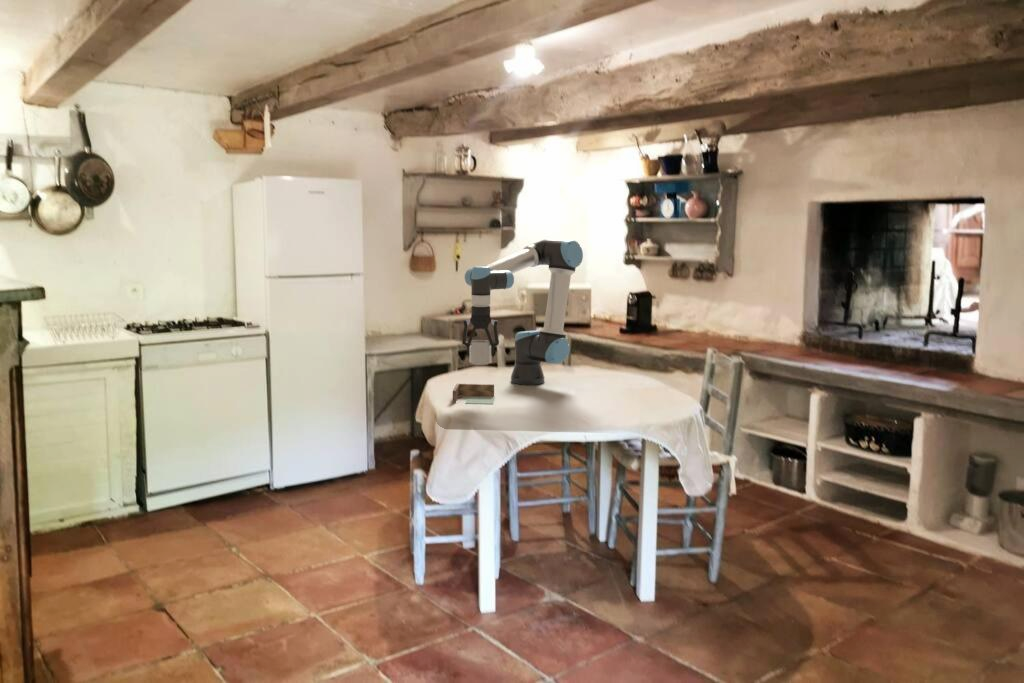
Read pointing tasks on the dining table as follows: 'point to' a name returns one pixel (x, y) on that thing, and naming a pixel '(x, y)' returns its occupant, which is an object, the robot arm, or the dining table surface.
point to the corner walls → (473, 390)
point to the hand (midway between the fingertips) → (480, 362)
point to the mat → (480, 400)
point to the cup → (480, 352)
